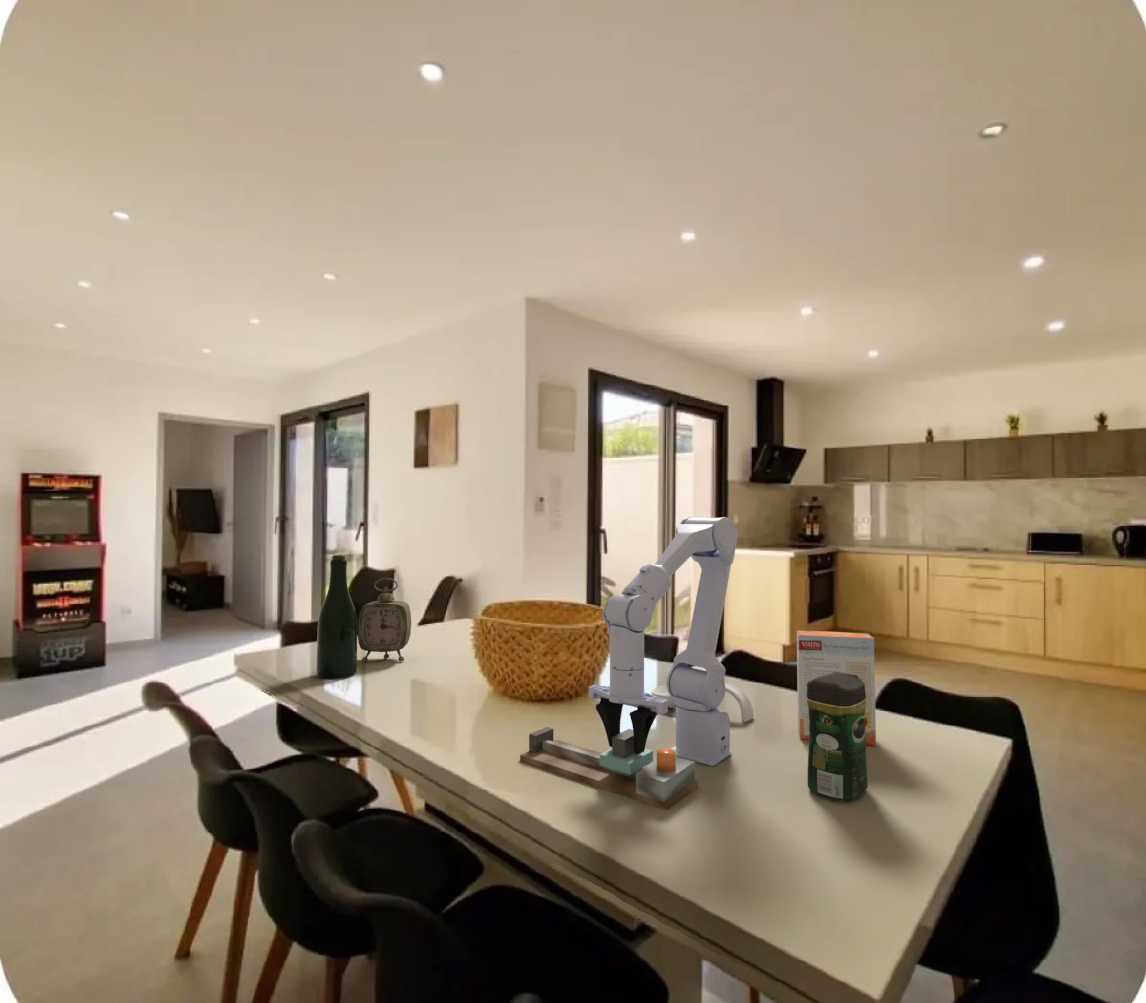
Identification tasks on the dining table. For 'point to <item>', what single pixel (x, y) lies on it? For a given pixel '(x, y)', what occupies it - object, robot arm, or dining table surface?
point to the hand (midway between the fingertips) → (626, 748)
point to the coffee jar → (837, 736)
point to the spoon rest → (734, 691)
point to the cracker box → (835, 669)
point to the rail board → (611, 771)
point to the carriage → (625, 754)
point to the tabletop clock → (384, 624)
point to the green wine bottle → (337, 627)
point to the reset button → (666, 759)
